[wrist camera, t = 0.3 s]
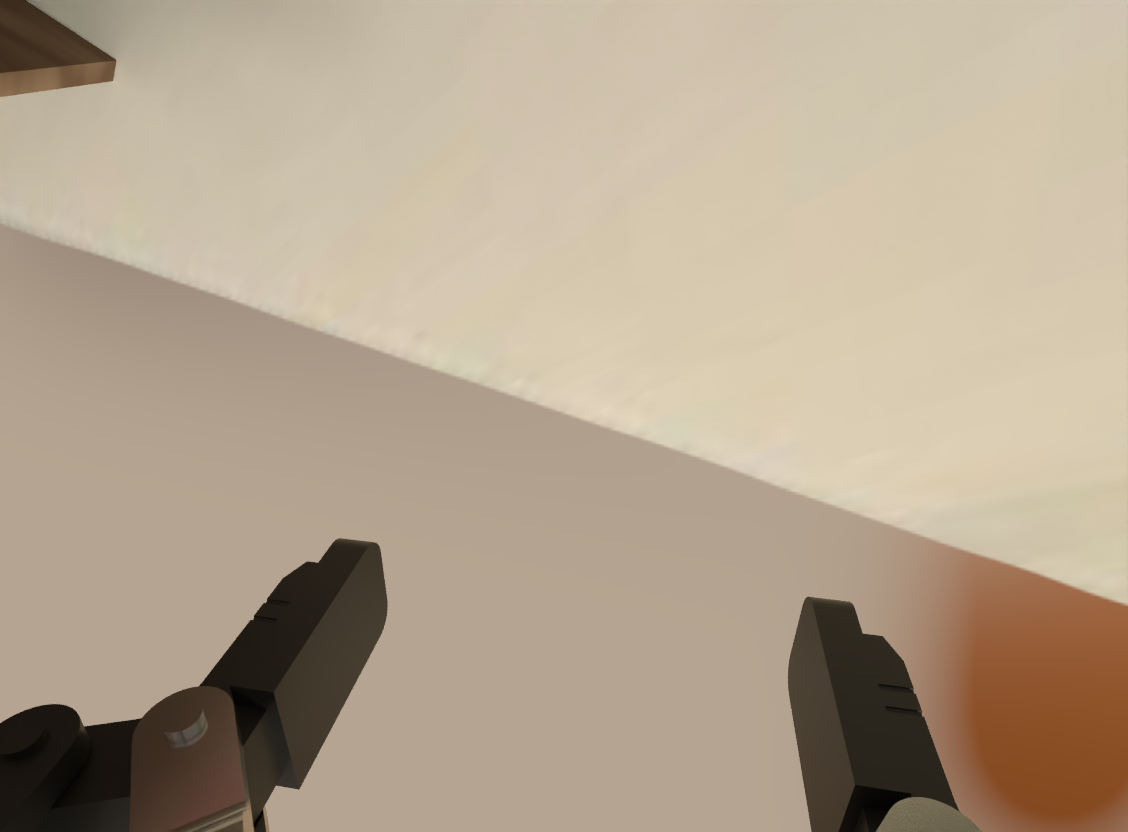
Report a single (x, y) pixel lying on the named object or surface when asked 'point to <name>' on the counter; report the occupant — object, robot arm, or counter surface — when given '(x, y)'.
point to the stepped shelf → (45, 53)
